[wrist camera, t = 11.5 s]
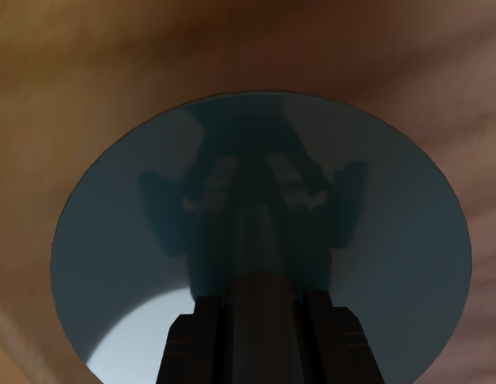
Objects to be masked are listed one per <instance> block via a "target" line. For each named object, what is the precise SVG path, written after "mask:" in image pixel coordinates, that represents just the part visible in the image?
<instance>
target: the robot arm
mask: <svg viewBox="0 0 496 384" xmlns="http://www.w3.org/2000/svg"><path fill="white" fill-rule="evenodd" d="M303 309H304V314H305V318H306V323H307V327H308V331H309V336H310V340H311V345H312V349H313V354H314V358H315V363H316V367H317V372H318V376H319V381H320V384H385V382H384V379H383V377H382V374H381V372H380V370H379V367H378V365H377V362H376V360H375V357H374V355H373V353H372V350H371V348H370V347H369V343H368V340H367V338H366V336H365V335H364V331H363V328H362V326H361V323H360V321H359V319H358V317H357V316H356V315H355V314H354V313H353V312H352V311H351V310H350V309H349V308H348V307H347V306H345V307H333V304H332V301H331V298H330V295H329V292H328V291H327V290H320V291H304V292H303ZM221 314H222V306H221V297H220V295H214V296H197V297H196V301H195V306H194V312H193V314H179V316H178V317H177V318H176V320H175V321H174V322H173V323H172V325H171V326H170V328H169V332H168V336H167V340H166V344H165V348H164V352H163V357H162V360H161V364H160V368H159V372H158V376H157V380H156V384H216V379H217V366H218V353H219V340H220V327H221Z"/></svg>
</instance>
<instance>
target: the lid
mask: <svg viewBox="0 0 496 384" xmlns="http://www.w3.org/2000/svg"><path fill="white" fill-rule="evenodd" d="M471 272H472V264H471V243H470V238H469V232H468V227H467V222H466V220H465V217H464V214H463V211H462V208H461V206H460V203H459V200H458V198H457V196H456V195H455V193H454V191H453V189H452V188H451V186H450V184H449V182H448V180H447V179H446V177H445V176H444V174H443V173H442V172H441V171H440V169H439V168H438V167H437V166H436V165H435V163H434V162H433V161H432V160H431V158H430V157H429V156H428V155H427V154H426V153H425V152H424V151H423V150H422V149H420V148H419V147H418V146H417V145H416V144H415V143H414V142H413V141H412V140H410V139H409V138H408V137H407V136H406V135H404V134H403V133H401V132H400V131H398V130H397V129H395V128H394V127H392V126H391V125H389V124H387V123H386V122H384V121H383V120H381V119H380V118H378V117H376V116H374V115H372V114H370V113H368V112H366V111H363V110H361V109H359V108H357V107H355V106H353V105H350V104H348V103H345V102H342V101H339V100H335V99H332V98H329V97H325V96H322V95H318V94H313V93H306V92H300V91H293V90H287V89H246V90H238V91H229V92H221V93H216V94H212V95H209V96H205V97H201V98H197V99H193V100H189V101H186V102H184V103H182V104H179V105H177V106H174V107H172V108H170V109H167V110H165V111H162V112H160V113H158V114H156V115H154V116H153V117H151V118H149V119H148V120H146V121H144V122H143V123H141V124H139V125H138V126H136V127H134V128H132V129H131V130H130V131H129V132H127V133H126V134H125V135H124V136H122V137H121V138H120V139H119V140H117V141H116V142H115V143H114V144H113V145H111V146H110V147H109V148H108V149H106V150H105V151H104V152H103V153H102V154H101V155H100V156H99V157H98V159H97V160H96V161H95V162H94V163H93V164H92V165H91V166H90V167H89V168H88V169H87V171H86V172H85V173H84V174H83V176H82V177H81V179H80V180H79V182H78V183H77V185H76V186H75V188H74V189H73V191H72V192H71V194H70V195H69V197H68V200H67V202H66V204H65V206H64V208H63V211H62V213H61V215H60V217H59V220H58V223H57V227H56V231H55V235H54V239H53V242H52V251H51V262H50V277H51V291H52V295H53V300H54V304H55V308H56V312H57V315H58V318H59V320H60V323H61V325H62V328H63V330H64V333H65V335H66V337H67V338H68V340H69V342H70V343H71V345H72V347H73V349H74V350H75V352H76V354H77V355H78V356H79V357H80V359H81V360H82V361H83V363H84V364H85V365H86V366H87V368H88V369H89V370H90V371H91V372H92V373H93V374H94V375H95V376H96V377H97V378H98V379H99V380H100V381H101V382H102V383H103V384H156V380H157V376H158V372H159V368H160V364H161V360H162V357H163V352H164V348H165V344H166V340H167V336H168V332H169V328H170V326H171V325H172V323H173V322H174V321H175V320H176V318H177V317H178V316H179V314H193V312H194V306H195V301H196V297H197V296H214V295H220V297H221V306H222V314H221V327H220V340H219V353H218V366H217V379H216V384H320V381H319V376H318V372H317V367H316V363H315V358H314V354H313V349H312V345H311V340H310V336H309V331H308V327H307V323H306V318H305V314H304V309H303V292H304V291H320V290H327V291H328V292H329V295H330V298H331V301H332V304H333V307H345V306H347V307H348V308H349V309H350V310H351V311H352V312H353V313H354V314H355V315H356V316H357V317H358V319H359V321H360V323H361V326H362V328H363V331H364V335H365V336H366V338H367V340H368V343H369V347H370V348H371V350H372V353H373V355H374V357H375V360H376V362H377V365H378V367H379V370H380V372H381V374H382V377H383V379H384V382H385V384H412V383H413V382H414V381H415V380H416V379H417V378H418V377H420V376H421V375H422V374H423V373H424V372H425V371H426V370H427V369H428V367H429V366H430V365H431V364H432V363H433V361H434V360H435V359H436V358H437V357H438V356H439V354H440V353H441V352H442V350H443V348H444V347H445V345H446V344H447V342H448V341H449V339H450V338H451V336H452V334H453V332H454V330H455V328H456V326H457V324H458V322H459V320H460V317H461V315H462V312H463V309H464V306H465V303H466V299H467V296H468V292H469V285H470V278H471Z"/></svg>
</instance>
